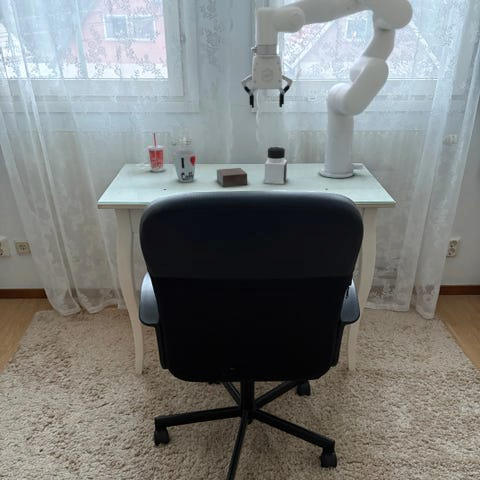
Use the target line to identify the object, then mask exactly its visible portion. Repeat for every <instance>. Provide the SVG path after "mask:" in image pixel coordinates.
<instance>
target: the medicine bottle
mask: <svg viewBox="0 0 480 480" xmlns="http://www.w3.org/2000/svg"><path fill="white" fill-rule="evenodd" d="M285 153H286V149H285V147H282V146H270V147H268V148H267V160H266V162H265V163H264V184H273V185H285V182H286V181H287V174H288V173H287V170H288V169H287V167H288V160H287V159H286V157H285Z"/></svg>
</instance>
